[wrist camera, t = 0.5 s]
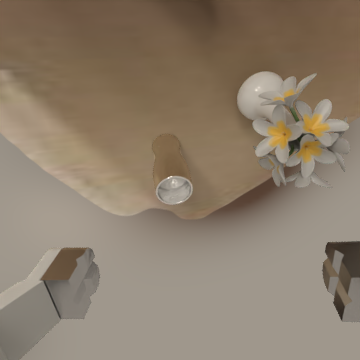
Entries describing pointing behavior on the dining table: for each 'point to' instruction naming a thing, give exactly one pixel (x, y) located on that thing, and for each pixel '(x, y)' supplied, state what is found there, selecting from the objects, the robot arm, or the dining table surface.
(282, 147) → the flower vase
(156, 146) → the beer glass
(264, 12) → the dining table surface
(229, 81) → the dining table surface
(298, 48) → the dining table surface
